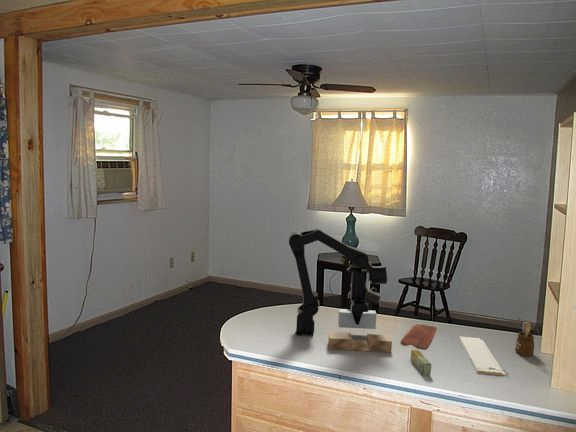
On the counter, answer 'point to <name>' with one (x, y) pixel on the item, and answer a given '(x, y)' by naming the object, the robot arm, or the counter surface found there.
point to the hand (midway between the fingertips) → (356, 322)
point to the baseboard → (481, 356)
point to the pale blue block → (348, 320)
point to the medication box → (421, 362)
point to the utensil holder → (525, 342)
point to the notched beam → (360, 342)
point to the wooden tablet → (419, 336)
